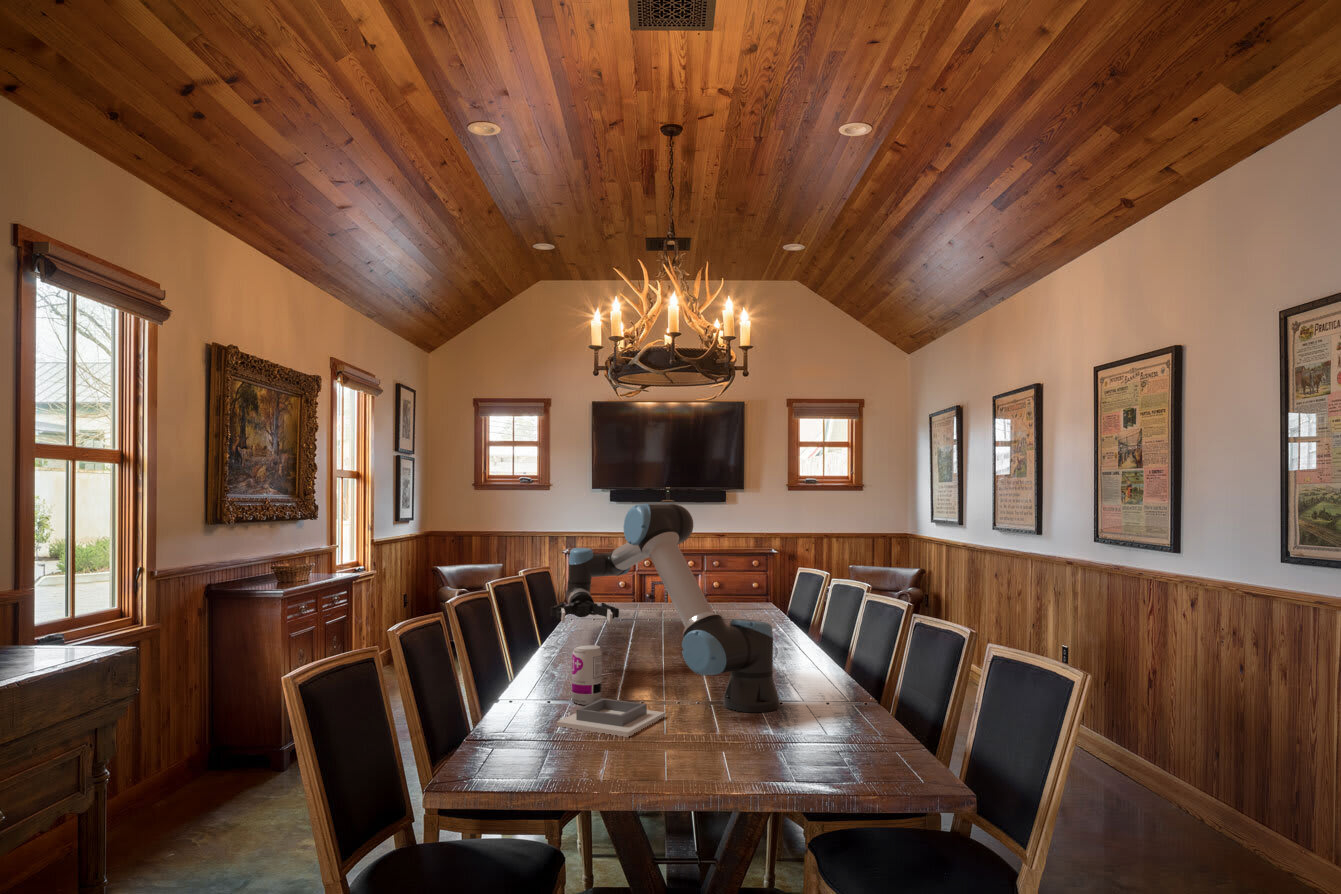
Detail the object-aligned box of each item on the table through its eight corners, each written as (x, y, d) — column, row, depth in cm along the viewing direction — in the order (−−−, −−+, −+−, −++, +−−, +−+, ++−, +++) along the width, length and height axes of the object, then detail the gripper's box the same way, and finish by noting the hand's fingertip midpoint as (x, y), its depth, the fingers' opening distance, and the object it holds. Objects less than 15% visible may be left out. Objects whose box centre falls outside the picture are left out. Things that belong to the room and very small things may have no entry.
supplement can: (578, 707, 223) (579, 650, 224) (567, 700, 230) (568, 645, 231) (606, 703, 227) (606, 648, 227) (594, 697, 234) (595, 643, 235)
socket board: (664, 717, 213) (665, 702, 214) (627, 737, 195) (628, 721, 196) (598, 707, 222) (598, 693, 222) (556, 726, 204) (556, 711, 204)
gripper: (619, 615, 261) (629, 631, 240) (540, 614, 256) (542, 630, 235) (621, 592, 261) (631, 606, 240) (541, 590, 256) (544, 604, 235)
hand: (587, 618), depth 237 cm, fingers open, 13 cm apart
